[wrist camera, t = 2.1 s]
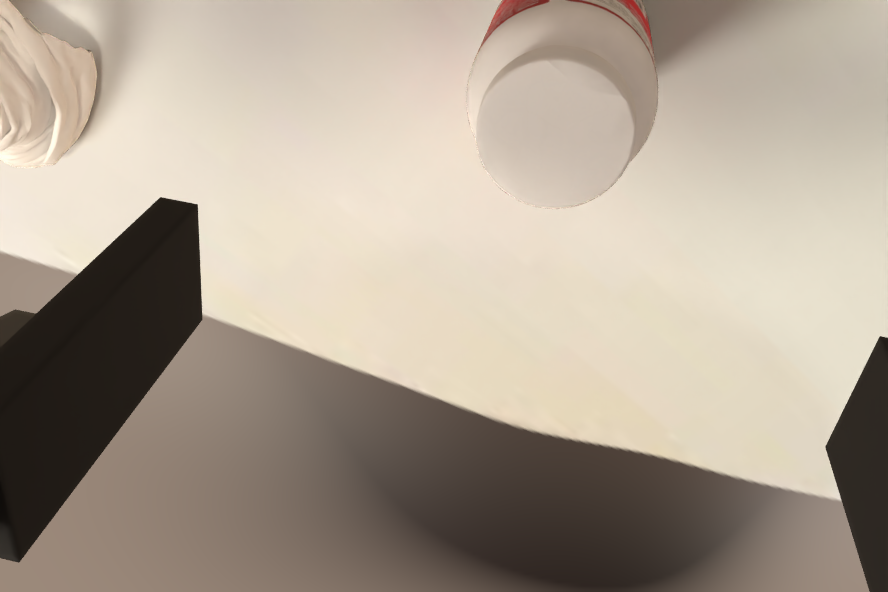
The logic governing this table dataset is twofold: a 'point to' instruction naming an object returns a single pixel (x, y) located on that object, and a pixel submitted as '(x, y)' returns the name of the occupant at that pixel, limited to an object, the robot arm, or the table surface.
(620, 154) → the pill bottle
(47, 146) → the cream folded ring
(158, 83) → the table surface
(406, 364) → the table surface
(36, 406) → the robot arm
